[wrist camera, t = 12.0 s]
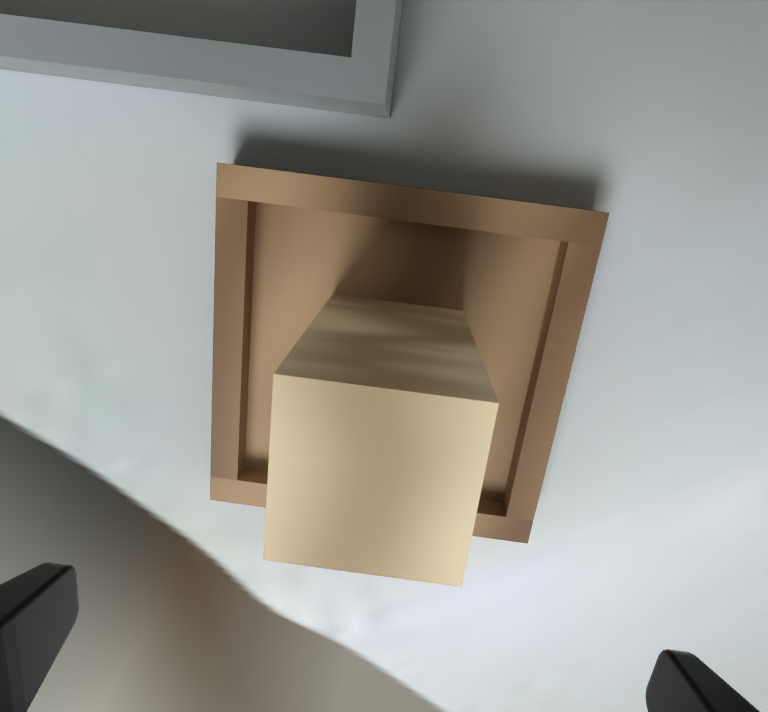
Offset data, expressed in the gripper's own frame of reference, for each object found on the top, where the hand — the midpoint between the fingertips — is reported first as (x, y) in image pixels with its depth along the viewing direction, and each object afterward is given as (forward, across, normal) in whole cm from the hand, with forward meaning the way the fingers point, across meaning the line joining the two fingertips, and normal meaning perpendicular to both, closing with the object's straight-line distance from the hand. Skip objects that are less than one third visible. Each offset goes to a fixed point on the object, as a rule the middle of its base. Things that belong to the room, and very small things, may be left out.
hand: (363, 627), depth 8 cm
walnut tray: (+12, 0, 0) cm, 12 cm away
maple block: (+11, 0, 0) cm, 11 cm away
